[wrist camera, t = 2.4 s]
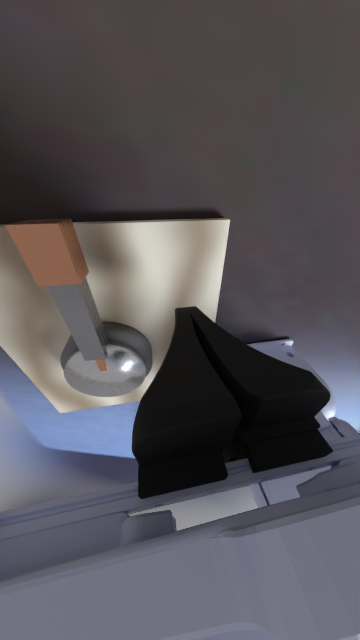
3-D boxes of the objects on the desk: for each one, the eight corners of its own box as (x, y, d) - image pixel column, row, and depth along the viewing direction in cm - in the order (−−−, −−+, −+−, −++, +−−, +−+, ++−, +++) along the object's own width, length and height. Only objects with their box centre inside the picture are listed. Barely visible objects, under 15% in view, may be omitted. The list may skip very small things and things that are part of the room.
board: (225, 217, 13) (239, 222, 11) (203, 384, 26) (208, 400, 24) (-85, 226, 11) (-138, 235, 9) (63, 405, 24) (55, 425, 22)
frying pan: (116, 217, 10) (111, 221, 8) (149, 383, 19) (149, 398, 18) (-25, 221, 9) (-58, 226, 7) (83, 392, 18) (78, 409, 17)
